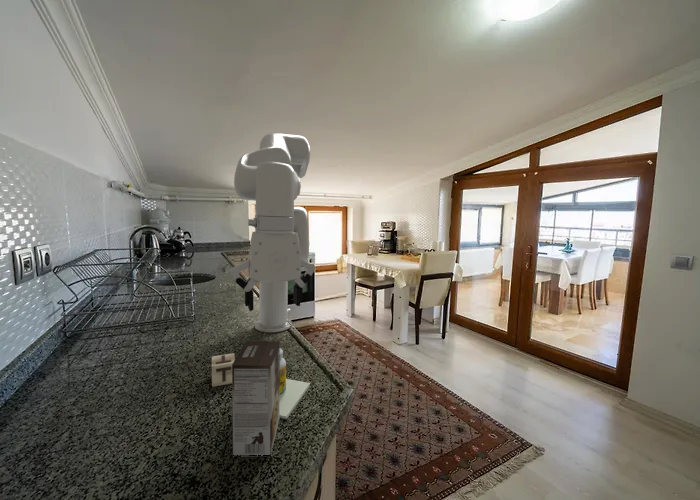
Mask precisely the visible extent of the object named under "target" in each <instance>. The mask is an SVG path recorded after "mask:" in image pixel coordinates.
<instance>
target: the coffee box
mask: <svg viewBox="0 0 700 500" xmlns="http://www.w3.org/2000/svg"><path fill="white" fill-rule="evenodd" d="M280 348H281V345H280V340H273V341H269V340H261V339H260V340H246V341H245V342H244V344H243V346H242V347H241V349H240V351H239V352H238V354H237V356H235V361H234V362H233V364H232V383H231V384H232V385H231V386H232V387H231V389H232V390H231V391H232V394H231V395H232V396H231V397H232V456H233V455H257V456H256V457H259V456H258V455H261V456H260V457H264V456H263V455H270V454H271V455H272V453H273V452H272V451H273V449H274V444H275V443H274V442H275V439H276V434H277V431H278V426H279V422H280V419H281V418H280V416H279V398H280ZM272 448H273V449H272ZM271 452H272V453H271ZM271 455H270V456H271Z"/></svg>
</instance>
